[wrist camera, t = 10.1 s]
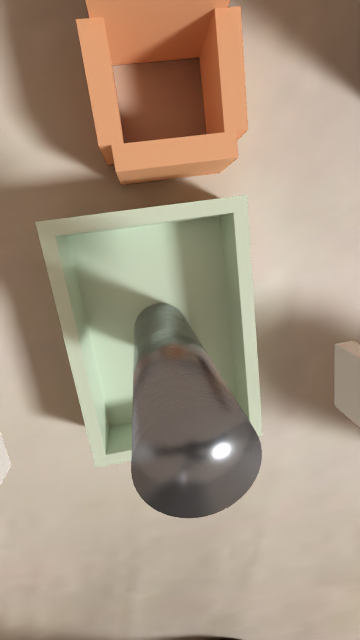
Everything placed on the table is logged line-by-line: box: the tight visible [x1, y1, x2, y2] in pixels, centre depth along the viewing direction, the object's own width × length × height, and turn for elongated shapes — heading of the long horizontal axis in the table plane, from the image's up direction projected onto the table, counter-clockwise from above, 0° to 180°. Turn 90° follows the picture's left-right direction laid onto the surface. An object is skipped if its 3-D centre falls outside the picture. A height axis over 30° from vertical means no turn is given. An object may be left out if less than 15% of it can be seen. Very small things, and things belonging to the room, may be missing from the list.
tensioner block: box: [76, 0, 248, 185], centre depth 14 cm, size 10×7×8 cm
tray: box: [35, 195, 263, 468], centre depth 20 cm, size 15×11×4 cm
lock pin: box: [131, 303, 262, 518], centre depth 15 cm, size 4×4×13 cm
